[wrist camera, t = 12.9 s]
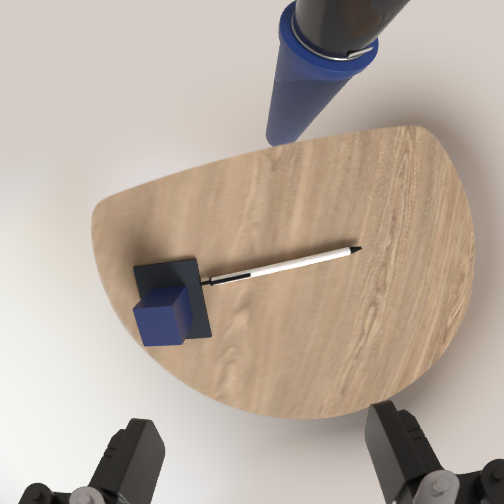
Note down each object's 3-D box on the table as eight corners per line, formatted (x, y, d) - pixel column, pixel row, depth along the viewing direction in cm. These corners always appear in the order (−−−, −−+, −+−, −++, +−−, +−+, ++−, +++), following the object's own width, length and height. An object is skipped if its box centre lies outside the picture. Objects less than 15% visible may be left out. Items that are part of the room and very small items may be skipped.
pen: (199, 279, 33) (197, 282, 32) (361, 242, 32) (364, 244, 31) (201, 286, 33) (200, 289, 32) (362, 250, 32) (365, 252, 31)
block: (151, 288, 33) (132, 308, 27) (186, 285, 33) (172, 305, 27) (159, 322, 34) (143, 346, 28) (193, 319, 34) (182, 345, 28)
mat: (134, 266, 33) (132, 267, 33) (196, 258, 33) (195, 259, 32) (153, 339, 35) (152, 340, 35) (212, 335, 35) (211, 337, 34)
